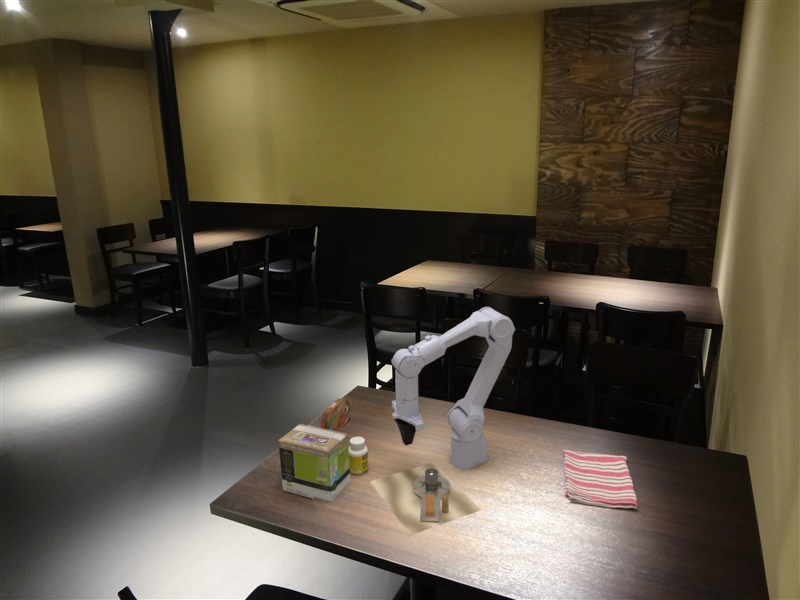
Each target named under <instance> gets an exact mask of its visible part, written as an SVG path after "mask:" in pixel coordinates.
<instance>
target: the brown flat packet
mask: <svg viewBox="0 0 800 600" xmlns="http://www.w3.org/2000/svg"><path fill="white" fill-rule="evenodd" d="M350 413H351V407H350V403H349V400H348V399H346V398H337V399H336V400H334V401H333V402H332V403H331V404H330V405H329V406H328V407H327V408H326V409H325V410H324V411H323V413H322V415H321V419H320V426H321V427H320V428H323V429H327V430H332V431H337V432H341V430H342V429H343V428H344V427H345V425H347V423H348V421H349V420H350V419H349V418H350Z"/></svg>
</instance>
